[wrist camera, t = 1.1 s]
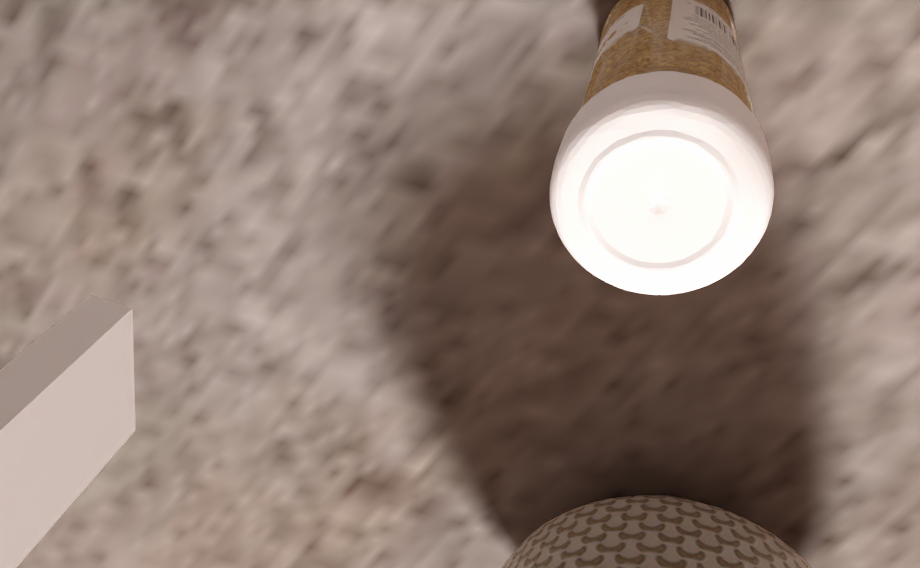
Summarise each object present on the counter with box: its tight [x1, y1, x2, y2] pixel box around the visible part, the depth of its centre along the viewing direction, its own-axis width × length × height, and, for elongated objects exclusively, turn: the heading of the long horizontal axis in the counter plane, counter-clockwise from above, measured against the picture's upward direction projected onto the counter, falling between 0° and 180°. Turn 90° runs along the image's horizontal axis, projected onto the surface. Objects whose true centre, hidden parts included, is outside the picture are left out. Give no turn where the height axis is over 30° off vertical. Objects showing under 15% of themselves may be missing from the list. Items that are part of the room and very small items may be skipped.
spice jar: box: [550, 0, 774, 295], centre depth 22 cm, size 5×5×14 cm
